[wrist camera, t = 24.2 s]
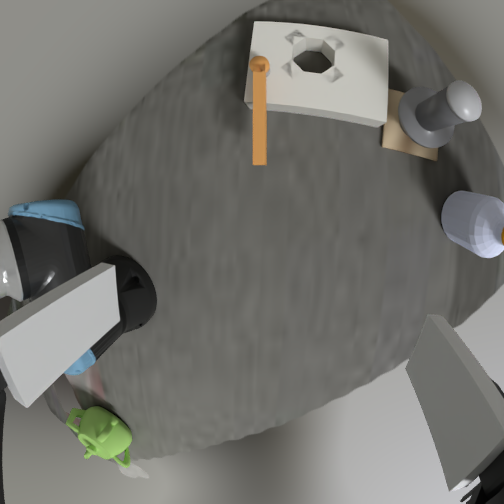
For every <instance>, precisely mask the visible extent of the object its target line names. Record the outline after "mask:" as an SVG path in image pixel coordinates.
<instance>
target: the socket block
mask: <svg viewBox="0 0 504 504" xmlns="http://www.w3.org/2000/svg"><path fill="white" fill-rule="evenodd" d="M305 50H308V51H316V52H321V53H322V54H323V55H324V56H325V57H326V58H327V59H328V60H329V61H330V62H331V63H332V66H331V68H329V69H328V70H326V71H325V72H323V73H322V74H319V73H312V72H304V71H303V70H302V69H301V68H300V67H299V66H298V65H297V64H296V63H295V62H294V58H295V57H296V56H298V55H299V54H301V53H302V52H304V51H305ZM255 56H264V57H266V58H267V59H268V61H269V64H270V69H269V71H268V72H267V73H266V106H267V110H269V111H280V112H289V113H298V114H306V115H313V116H320V117H326V118H332V119H338V120H344V121H349V122H354V123H359V124H364V125H369V126H373V127H379V126H381V125H383V124H385V123H386V122H387V105H388V40H386V39H382V38H378V37H374V36H370V35H366V34H361V33H357V32H352V31H347V30H341V29H336V28H329V27H323V26H315V25H307V24H297V23H284V22H263V21H254V28H253V35H252V42H251V50H250V57H249V62H250V60H251V59H252V58H253V57H255ZM244 102H245V104H246V105H247V106H248V107H249V108H250V109H253V72H252V71H251V69H250V67H249V65H248V73H247V81H246V89H245V97H244Z"/></svg>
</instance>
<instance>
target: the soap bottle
mask: <svg viewBox="0 0 504 504" xmlns="http://www.w3.org/2000/svg"><path fill="white" fill-rule="evenodd" d="M441 222H442V226H443V230H444V232H445V233H446V235H447V236H448V238H449V239H451V240H452V241H454V242H456V243H457V244H459V245H461V246H463V247H465V248H467V249H468V250H470V251H472V252H474V253H475V254H477V255H479V256H481V257H485V258H492V257H495V256H497V255H499V254H500V253H501V252H502V251H503V250H504V203H503V202H502V201H501V200H500V199H499V198H496V197H492V196H488V195H483V194H478V193H473V192H468V191H462V190H461V191H457V192H454V193H453V194H452V195H450V196H449V197H448V198H447V200H446V202H445V203H444V205H443V209H442V213H441Z"/></svg>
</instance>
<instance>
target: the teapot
mask: <svg viewBox="0 0 504 504" xmlns="http://www.w3.org/2000/svg"><path fill="white" fill-rule="evenodd" d="M76 417H79V418H81V421H80V425H79V426H77V425H75V424H74V423H73V421H74V419H75V418H76ZM66 425H67V426H69V427H70V428H71V429H73V430H74V431H75V432H77V433H78V439H79V440H80V441H81V443H82V444H83V445H85V446H86V449H87V451H86V453H85V454H84V458H86V459H88V458H89V457H90V456H91V455H92V454H93V455H98V456H100V457H101V458H103V459H110V458H113V459H114V460H115V461H116V462H117V463H118V464H120V465H121V466H123V467H125V468H128V467H129V466H130V454H129V449H128V446H129V445H130V443H131V441H132V433H131V430H130V429H129V428H128V427H127V426H126V425H125V424H124V423H123V422H122V421H121V420H120V419H119V418H117V417H116V416H115V415H113V414H112V413H110V412H109V411H107V410H106V409H104V408H102V407H99V406H94V407H90V408H88V409H87V410H81V409H76V408H72V410H71V412H70V414H69V417H68V419H67V422H66ZM124 450H125V458H124V461H121V460H120V459H119V458H117V457H116V456H117V455H118V454H120V453H122V452H123V451H124Z"/></svg>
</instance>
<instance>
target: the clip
mask: <svg viewBox="0 0 504 504" xmlns="http://www.w3.org/2000/svg"><path fill="white" fill-rule="evenodd" d="M249 67H250V69H251V71H252V72H253V165H267V106H266V73H267V72H268V71H269V69H270V64H269V61H268V59H267V58H266V57H264V56H255V57H253V58H252V59H251V60H250V62H249Z"/></svg>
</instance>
